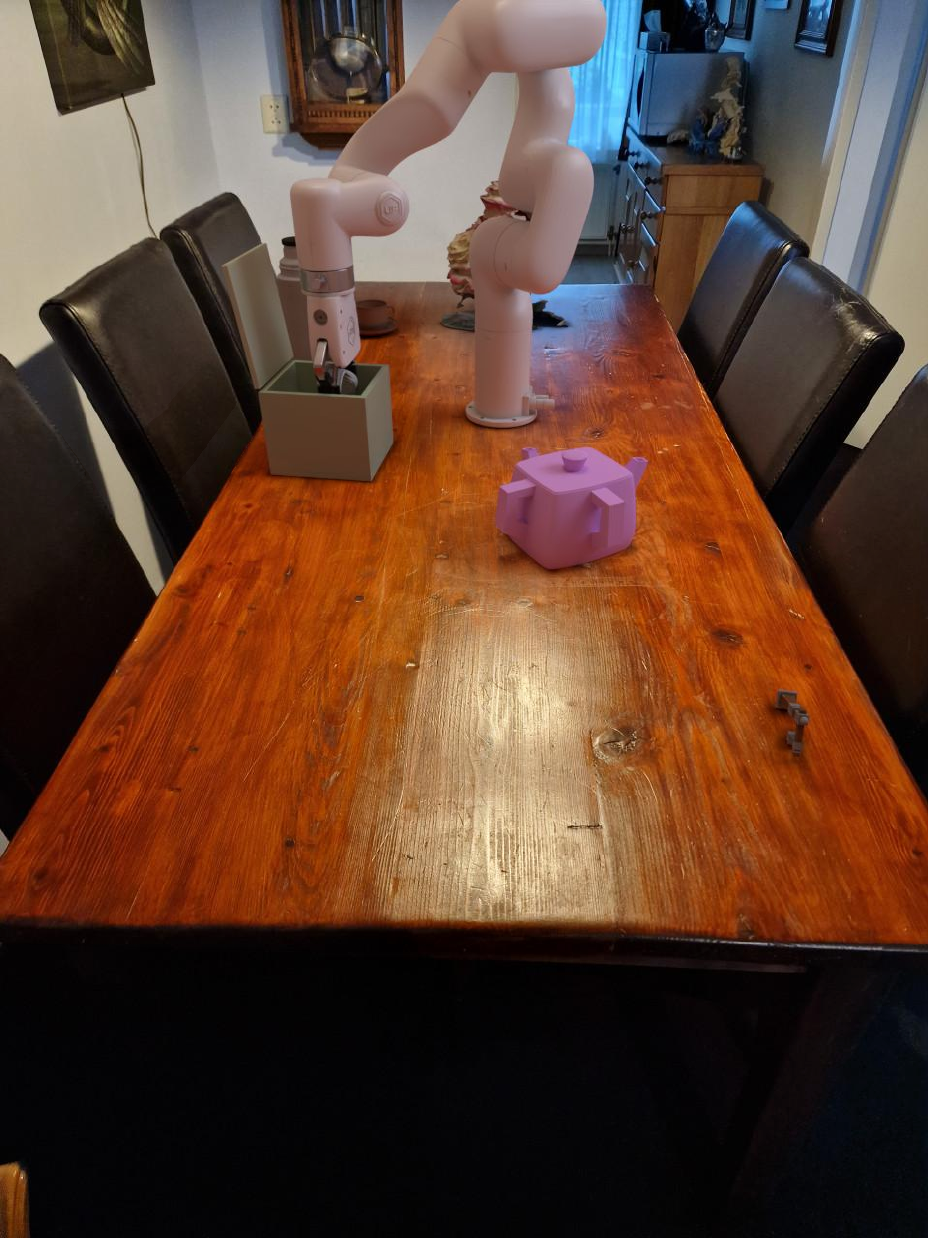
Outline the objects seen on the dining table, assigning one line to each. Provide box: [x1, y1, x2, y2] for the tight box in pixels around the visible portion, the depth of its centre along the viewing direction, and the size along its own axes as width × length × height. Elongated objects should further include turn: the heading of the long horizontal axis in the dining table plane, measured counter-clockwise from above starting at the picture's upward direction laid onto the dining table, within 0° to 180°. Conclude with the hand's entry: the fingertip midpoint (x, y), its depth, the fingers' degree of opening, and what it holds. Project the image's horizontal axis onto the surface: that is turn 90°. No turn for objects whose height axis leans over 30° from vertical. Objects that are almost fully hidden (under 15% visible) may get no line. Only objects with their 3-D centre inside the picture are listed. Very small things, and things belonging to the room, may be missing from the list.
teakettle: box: [494, 446, 649, 570], centre depth 104 cm, size 17×17×12 cm
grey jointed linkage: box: [774, 689, 810, 758], centre depth 77 cm, size 2×8×4 cm, turn 169°
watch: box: [328, 369, 358, 395], centre depth 124 cm, size 6×8×11 cm
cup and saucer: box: [355, 299, 399, 336], centre depth 184 cm, size 12×12×6 cm
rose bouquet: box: [440, 180, 569, 332], centre depth 183 cm, size 26×29×30 cm
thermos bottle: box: [276, 235, 333, 364], centre depth 140 cm, size 8×8×28 cm
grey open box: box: [257, 360, 394, 482], centre depth 125 cm, size 16×15×13 cm
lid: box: [221, 242, 293, 390], centre depth 118 cm, size 17×15×1 cm
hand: (339, 400), depth 124 cm, fingers closed on watch, 8 cm apart
